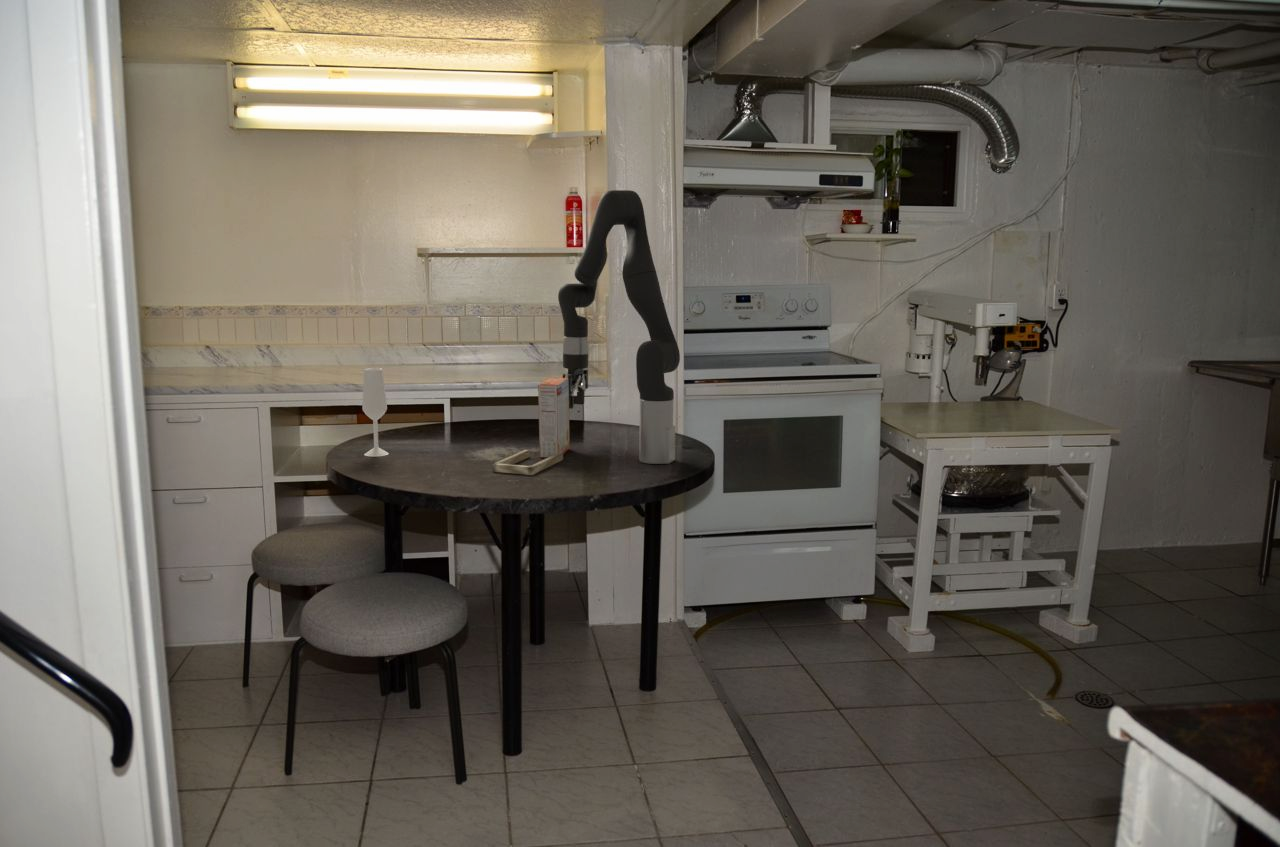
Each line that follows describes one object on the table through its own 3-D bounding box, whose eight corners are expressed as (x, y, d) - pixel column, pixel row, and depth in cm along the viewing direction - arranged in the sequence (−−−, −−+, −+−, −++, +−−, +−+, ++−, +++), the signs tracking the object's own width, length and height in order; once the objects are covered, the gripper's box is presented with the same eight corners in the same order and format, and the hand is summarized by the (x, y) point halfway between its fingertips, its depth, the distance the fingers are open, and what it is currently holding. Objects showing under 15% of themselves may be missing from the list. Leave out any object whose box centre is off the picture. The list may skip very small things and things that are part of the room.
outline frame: (563, 459, 271) (563, 452, 270) (532, 475, 252) (532, 467, 252) (525, 456, 274) (525, 449, 274) (492, 471, 256) (492, 463, 255)
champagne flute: (382, 457, 272) (379, 370, 268) (359, 455, 273) (356, 370, 269) (393, 452, 279) (390, 368, 274) (371, 451, 280) (367, 367, 276)
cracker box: (549, 448, 286) (549, 377, 283) (570, 449, 285) (569, 377, 282) (537, 458, 273) (537, 383, 269) (559, 459, 272) (558, 384, 268)
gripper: (578, 355, 281) (577, 410, 284) (596, 350, 295) (595, 403, 298) (554, 353, 284) (553, 409, 287) (573, 348, 297) (572, 401, 300)
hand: (575, 406), depth 292 cm, fingers open, 8 cm apart
